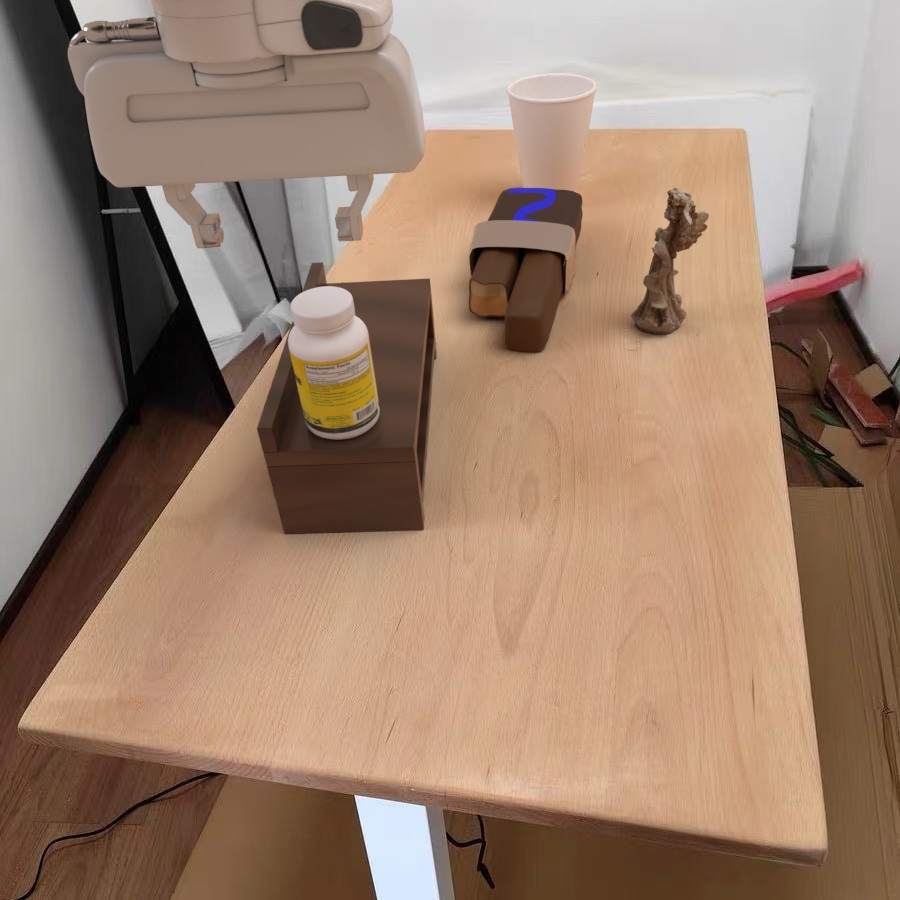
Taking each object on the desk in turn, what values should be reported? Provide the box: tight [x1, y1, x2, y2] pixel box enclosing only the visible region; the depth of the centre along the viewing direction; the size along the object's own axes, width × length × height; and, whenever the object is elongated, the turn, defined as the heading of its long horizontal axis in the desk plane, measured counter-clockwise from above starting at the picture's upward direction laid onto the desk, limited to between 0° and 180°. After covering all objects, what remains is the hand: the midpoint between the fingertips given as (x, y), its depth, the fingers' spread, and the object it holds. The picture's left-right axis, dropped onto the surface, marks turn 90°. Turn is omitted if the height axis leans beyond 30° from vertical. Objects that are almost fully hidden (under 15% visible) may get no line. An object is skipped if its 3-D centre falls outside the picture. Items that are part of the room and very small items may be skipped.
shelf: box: [256, 262, 438, 535], centre depth 81 cm, size 28×12×11 cm, turn 178°
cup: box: [506, 72, 598, 193], centre depth 119 cm, size 12×12×16 cm
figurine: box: [630, 187, 710, 335], centre depth 92 cm, size 7×6×15 cm
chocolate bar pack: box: [468, 187, 584, 353], centre depth 103 cm, size 12×30×8 cm, turn 165°
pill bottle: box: [288, 286, 380, 440], centre depth 67 cm, size 6×6×11 cm
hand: (280, 241), depth 57 cm, fingers open, 8 cm apart
